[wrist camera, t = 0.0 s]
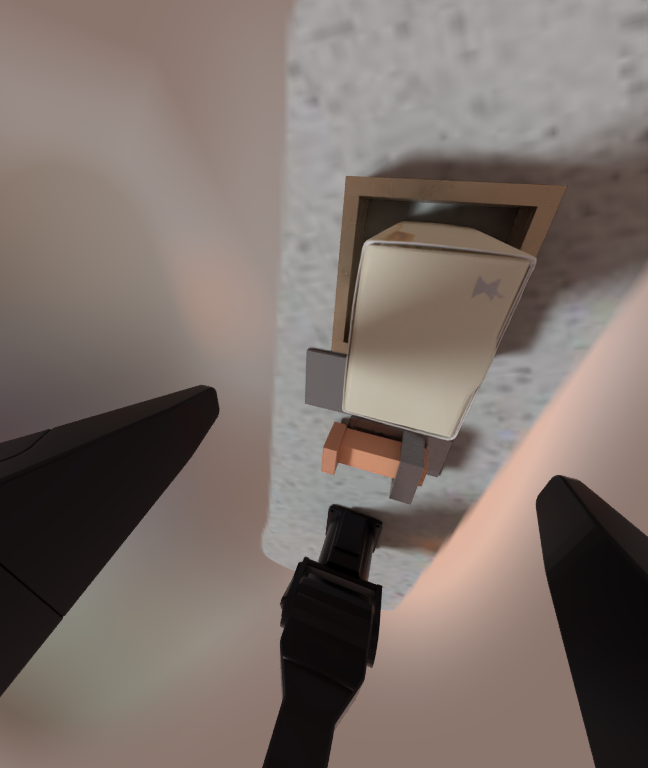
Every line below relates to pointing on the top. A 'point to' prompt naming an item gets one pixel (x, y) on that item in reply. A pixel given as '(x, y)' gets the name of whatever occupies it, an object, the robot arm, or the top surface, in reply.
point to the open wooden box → (530, 198)
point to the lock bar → (363, 452)
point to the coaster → (325, 380)
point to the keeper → (407, 455)
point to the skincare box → (428, 323)
